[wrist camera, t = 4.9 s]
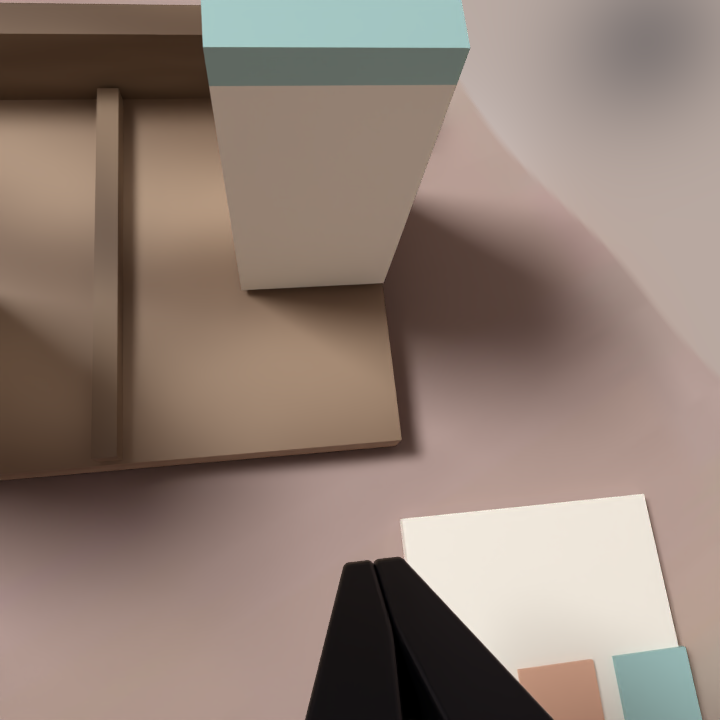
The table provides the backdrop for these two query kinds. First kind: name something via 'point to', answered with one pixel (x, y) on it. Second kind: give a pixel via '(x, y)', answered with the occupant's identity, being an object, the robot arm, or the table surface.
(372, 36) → the white tall block
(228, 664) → the table surface
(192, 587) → the table surface
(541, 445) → the table surface
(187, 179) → the brown divided rack
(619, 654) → the pattern card
